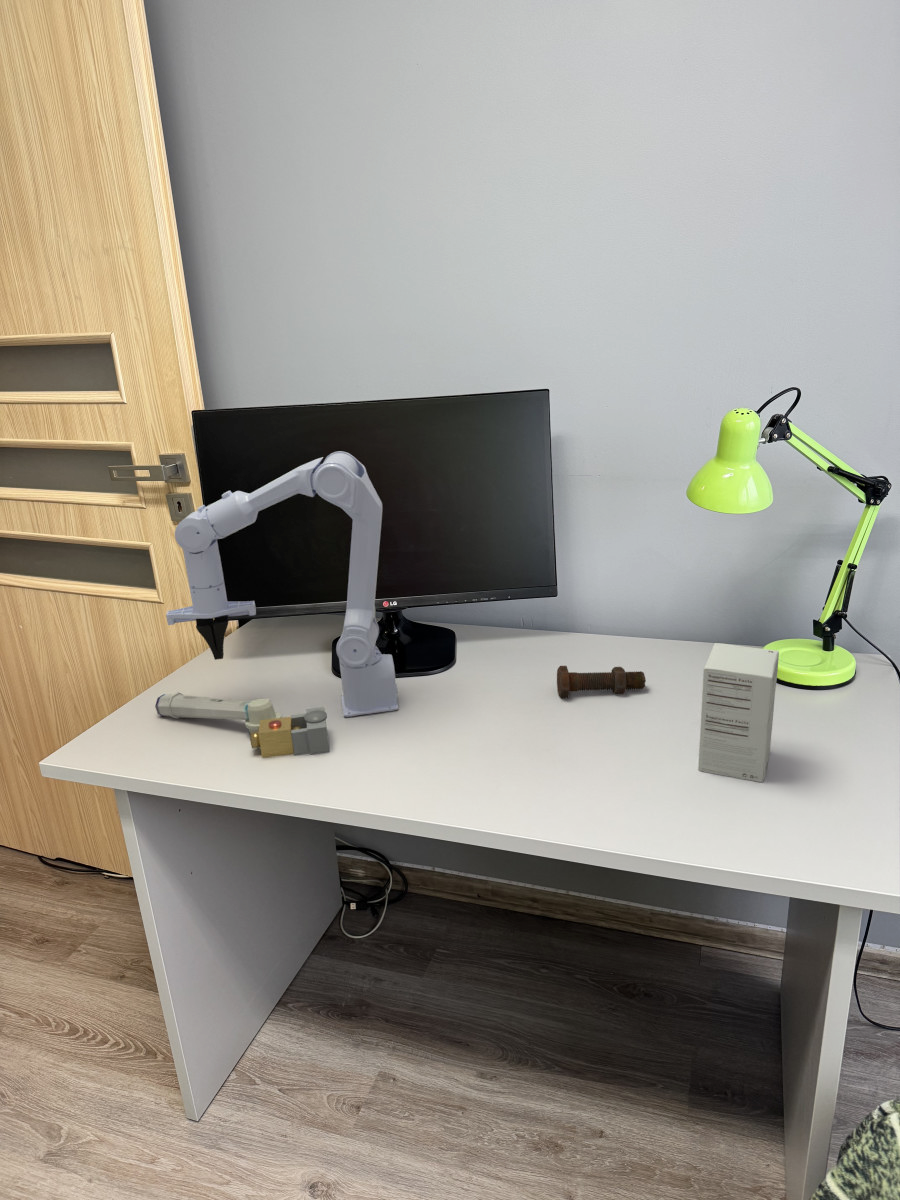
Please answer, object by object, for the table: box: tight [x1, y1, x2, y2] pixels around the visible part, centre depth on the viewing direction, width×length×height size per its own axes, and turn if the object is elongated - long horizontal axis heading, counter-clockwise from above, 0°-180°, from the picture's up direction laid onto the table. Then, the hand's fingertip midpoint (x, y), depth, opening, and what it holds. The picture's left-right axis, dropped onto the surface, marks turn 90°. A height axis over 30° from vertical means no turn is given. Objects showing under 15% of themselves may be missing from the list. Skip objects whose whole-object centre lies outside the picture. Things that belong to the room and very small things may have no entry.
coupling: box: [290, 706, 330, 756], centre depth 134 cm, size 6×7×5 cm
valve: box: [249, 716, 302, 759], centre depth 133 cm, size 8×4×5 cm, turn 99°
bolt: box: [556, 665, 647, 699], centre depth 146 cm, size 6×5×15 cm
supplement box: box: [697, 642, 780, 783], centre depth 120 cm, size 10×9×17 cm
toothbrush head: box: [154, 692, 283, 733], centre depth 142 cm, size 5×7×25 cm
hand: (219, 657), depth 144 cm, fingers closed
